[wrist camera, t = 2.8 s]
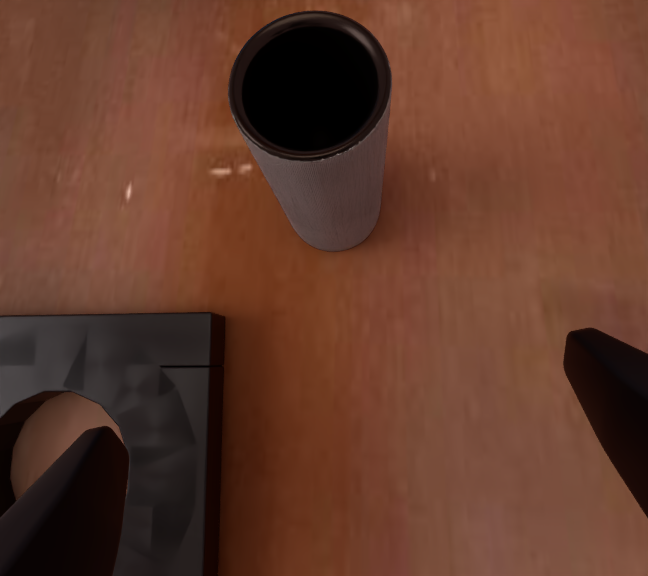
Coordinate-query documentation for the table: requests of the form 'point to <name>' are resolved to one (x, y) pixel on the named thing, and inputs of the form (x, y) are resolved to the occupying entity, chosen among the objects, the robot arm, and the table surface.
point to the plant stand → (133, 420)
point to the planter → (317, 121)
